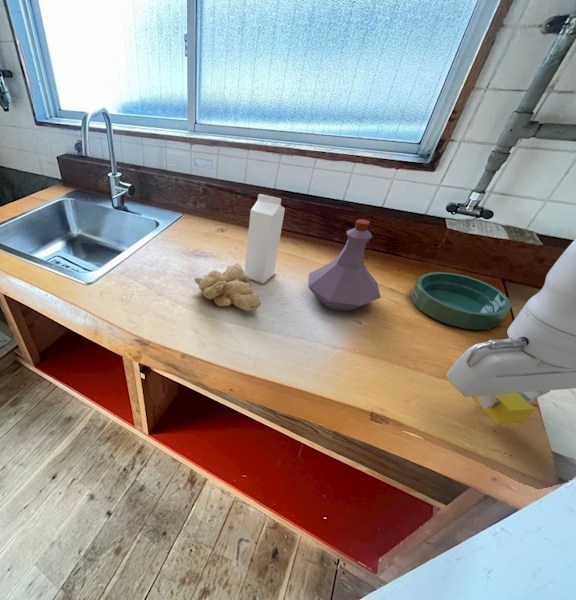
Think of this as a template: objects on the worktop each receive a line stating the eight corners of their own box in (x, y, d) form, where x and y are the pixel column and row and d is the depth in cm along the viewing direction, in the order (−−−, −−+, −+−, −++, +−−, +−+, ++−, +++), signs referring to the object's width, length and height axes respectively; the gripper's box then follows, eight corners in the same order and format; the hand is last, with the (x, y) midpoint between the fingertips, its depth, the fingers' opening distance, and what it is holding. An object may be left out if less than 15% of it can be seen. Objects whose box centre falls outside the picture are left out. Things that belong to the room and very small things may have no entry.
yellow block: (521, 423, 48) (535, 408, 46) (498, 425, 48) (511, 410, 46) (492, 395, 52) (504, 381, 50) (471, 397, 52) (481, 383, 50)
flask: (384, 296, 78) (418, 218, 67) (362, 331, 69) (397, 247, 57) (318, 274, 88) (337, 202, 76) (290, 302, 78) (307, 224, 66)
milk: (262, 284, 85) (275, 202, 72) (243, 276, 88) (251, 197, 75) (274, 274, 88) (287, 195, 75) (254, 267, 92) (264, 190, 78)
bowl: (520, 328, 68) (533, 312, 65) (443, 334, 67) (453, 317, 64) (459, 285, 81) (468, 270, 78) (395, 289, 80) (401, 274, 78)
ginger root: (196, 273, 88) (203, 249, 82) (252, 289, 87) (263, 265, 82) (186, 310, 76) (194, 284, 70) (251, 328, 75) (264, 303, 70)
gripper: (501, 359, 38) (450, 427, 46) (667, 346, 39) (587, 416, 47) (460, 326, 43) (420, 392, 51) (606, 314, 44) (544, 382, 52)
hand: (501, 403), depth 49 cm, fingers closed on yellow block, 3 cm apart
